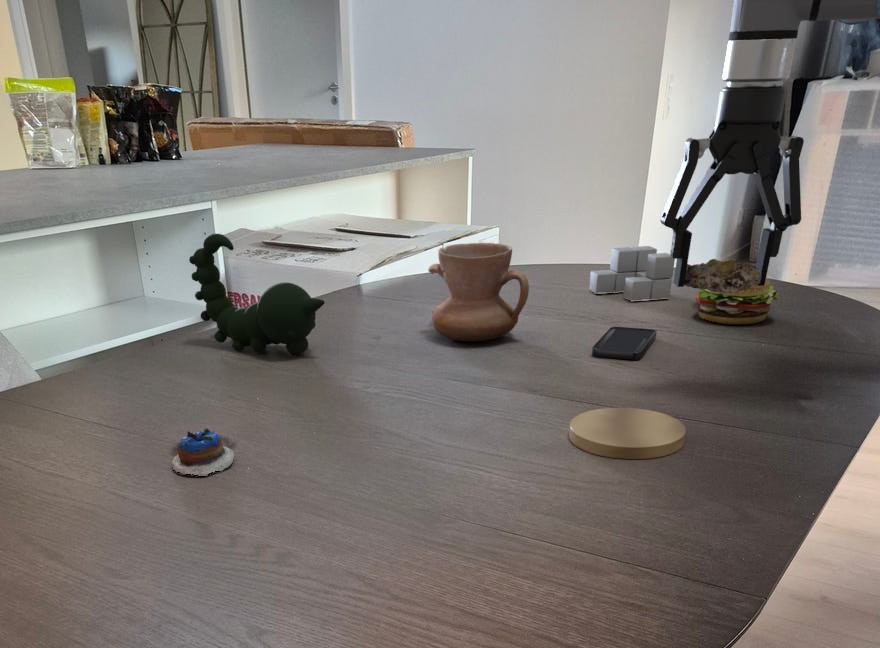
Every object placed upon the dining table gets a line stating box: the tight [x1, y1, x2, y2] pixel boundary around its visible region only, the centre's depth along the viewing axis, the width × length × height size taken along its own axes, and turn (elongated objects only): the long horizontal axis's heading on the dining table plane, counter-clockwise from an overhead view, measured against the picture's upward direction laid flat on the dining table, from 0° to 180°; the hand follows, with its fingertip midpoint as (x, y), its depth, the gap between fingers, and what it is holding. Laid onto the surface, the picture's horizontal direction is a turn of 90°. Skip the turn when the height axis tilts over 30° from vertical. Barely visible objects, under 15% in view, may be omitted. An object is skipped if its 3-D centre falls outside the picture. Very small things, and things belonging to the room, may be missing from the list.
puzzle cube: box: [588, 245, 676, 300], centre depth 167 cm, size 12×12×8 cm
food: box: [695, 278, 780, 326], centre depth 150 cm, size 14×14×8 cm
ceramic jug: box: [427, 242, 530, 343], centre depth 143 cm, size 18×14×14 cm
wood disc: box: [568, 407, 687, 460], centre depth 105 cm, size 14×14×2 cm
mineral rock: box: [684, 257, 761, 293], centre depth 112 cm, size 11×4×8 cm
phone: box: [591, 326, 657, 361], centre depth 139 cm, size 8×1×15 cm
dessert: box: [171, 427, 235, 476], centre depth 102 cm, size 8×7×6 cm
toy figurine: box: [188, 233, 326, 356], centre depth 139 cm, size 9×19×25 cm
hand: (718, 284), depth 113 cm, fingers closed on mineral rock, 10 cm apart
